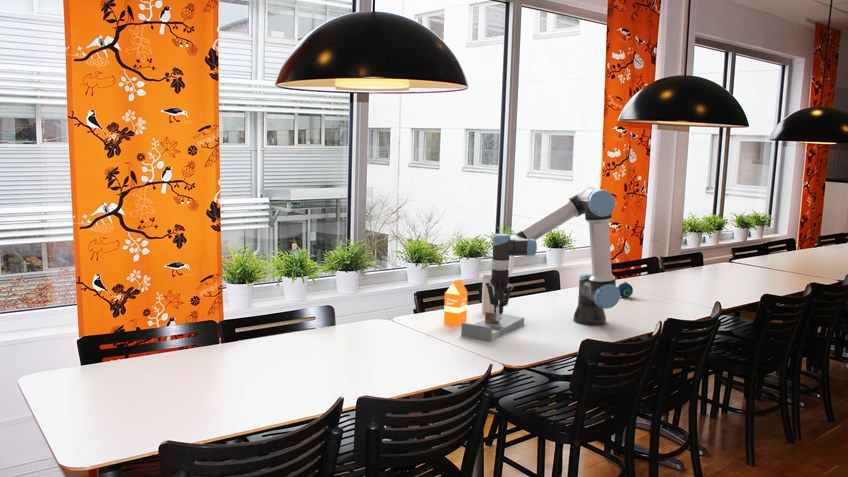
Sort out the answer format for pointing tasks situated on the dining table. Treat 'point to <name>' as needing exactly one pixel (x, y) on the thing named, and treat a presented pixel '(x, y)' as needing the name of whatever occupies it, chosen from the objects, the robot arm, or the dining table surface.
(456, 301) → the orange juice
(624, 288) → the christmas ornament
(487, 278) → the milk carton
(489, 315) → the walnut cube
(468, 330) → the board
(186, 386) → the dining table surface
